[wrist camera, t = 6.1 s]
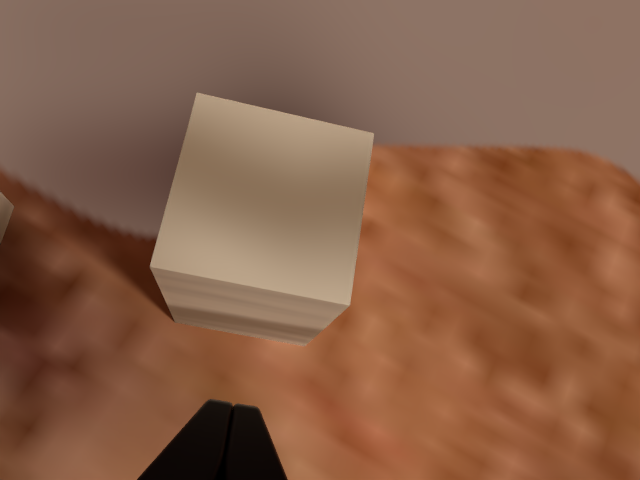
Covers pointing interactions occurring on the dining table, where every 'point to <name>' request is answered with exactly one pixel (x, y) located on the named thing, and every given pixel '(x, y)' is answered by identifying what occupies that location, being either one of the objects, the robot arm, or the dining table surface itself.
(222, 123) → the plain block
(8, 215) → the marked block 1
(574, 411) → the dining table surface
